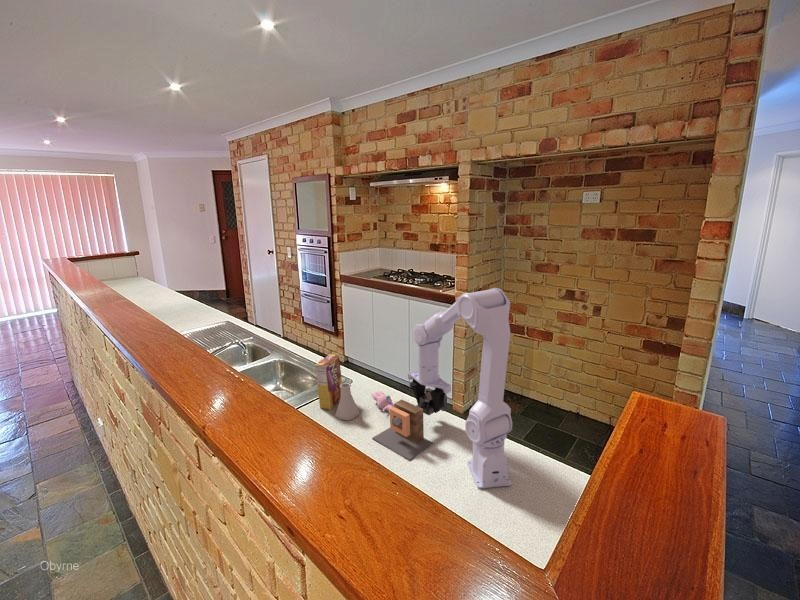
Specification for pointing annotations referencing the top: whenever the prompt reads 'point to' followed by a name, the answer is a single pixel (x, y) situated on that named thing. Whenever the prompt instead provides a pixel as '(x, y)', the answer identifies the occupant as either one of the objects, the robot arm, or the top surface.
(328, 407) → the candy box
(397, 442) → the mat
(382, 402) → the pink toy animal
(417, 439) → the bracket
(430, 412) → the shaft
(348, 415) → the flask
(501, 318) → the robot arm
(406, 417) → the spacer
